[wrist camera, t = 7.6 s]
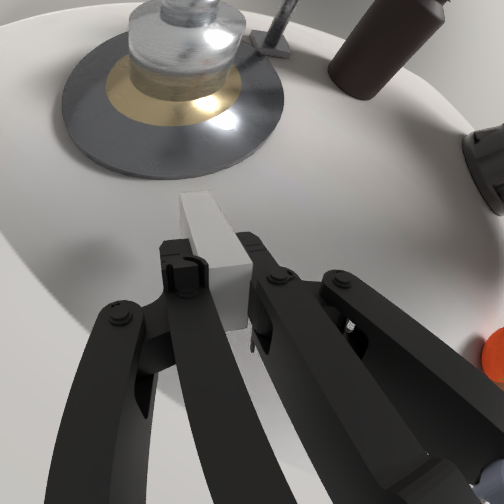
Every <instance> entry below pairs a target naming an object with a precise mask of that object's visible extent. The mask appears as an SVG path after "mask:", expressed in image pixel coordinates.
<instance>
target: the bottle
mask: <svg viewBox="0 0 504 504" xmlns="http://www.w3.org/2000/svg"><path fill="white" fill-rule="evenodd" d="M446 1H449V2H450V0H375V1H374V2H373V4H372V5H371V6H370V8H369V9H368V10H367V12H366V13H365V14H364V16H363V17H362V19H361V20H360V21H359V23H358V24H357V25H356V27H355V28H354V30H353V31H352V32H351V34H350V35H349V37H348V38H347V39H346V41H345V42H344V44H343V45H342V47H341V48H340V49H339V51H338V52H337V54H336V55H335V57H334V58H333V59H332V61H331V62H330V64H329V65H328V72H329V74H330V76H331V78H332V80H333V81H334V82H335V83H336V85H338V86H339V87H340V88H341V89H342V90H343V91H345V92H346V93H348V94H349V95H351V96H353V97H356V98H358V99H362V100H370V99H372V98H373V97H374V96H375V95H376V94H377V93H378V92H379V91H380V90H381V89H382V88H383V87H384V86H385V85H386V83H387V82H388V81H389V80H390V79H391V78H392V77H393V76H394V75H395V74H396V73H397V72H398V71H399V70H400V69H401V68H402V66H403V65H404V64H405V63H406V62H407V61H408V60H409V59H410V58H411V57H412V56H413V55H414V54H415V53H416V52H417V51H418V50H419V49H420V48H421V47H422V45H423V44H424V43H425V42H426V41H427V40H428V39H429V38H430V37H431V36H432V35H433V34H434V33H435V32H436V31H437V30H438V29H439V28H440V27H441V26H442V25H443V24H444V22H445V16H444V10H443V5H444V4H445V3H446Z"/></svg>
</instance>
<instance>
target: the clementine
mask: <svg viewBox="0 0 504 504" xmlns="http://www.w3.org/2000/svg"><path fill="white" fill-rule="evenodd" d="M482 367H483V370H484V372H485V374H486V375H487V376H488V378H489V379H491V380H493V381H495V382H499V383H504V327H503V328H500V329H499V330H497V331H496V332H494V333H493V334H492V335H491V336H490V337H489V338H488V340H487V342H486V344H485V346H484V348H483V351H482Z"/></svg>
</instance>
